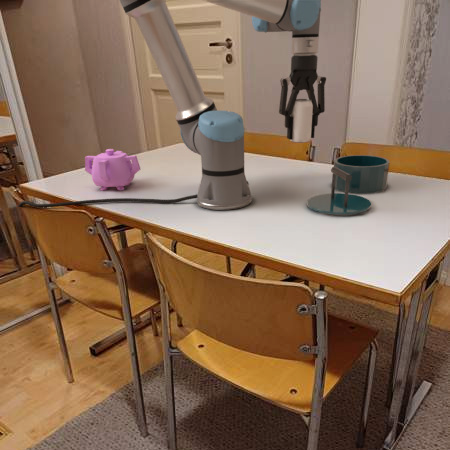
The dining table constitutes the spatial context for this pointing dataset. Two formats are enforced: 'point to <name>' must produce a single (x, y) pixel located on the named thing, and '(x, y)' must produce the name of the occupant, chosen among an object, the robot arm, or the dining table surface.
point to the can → (302, 120)
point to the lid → (339, 199)
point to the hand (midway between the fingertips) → (300, 137)
